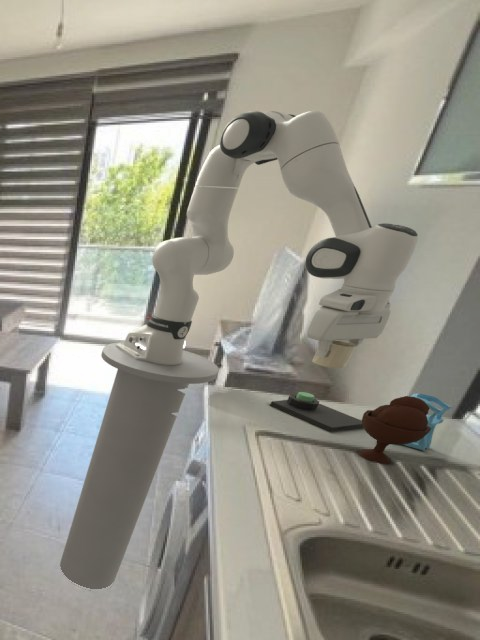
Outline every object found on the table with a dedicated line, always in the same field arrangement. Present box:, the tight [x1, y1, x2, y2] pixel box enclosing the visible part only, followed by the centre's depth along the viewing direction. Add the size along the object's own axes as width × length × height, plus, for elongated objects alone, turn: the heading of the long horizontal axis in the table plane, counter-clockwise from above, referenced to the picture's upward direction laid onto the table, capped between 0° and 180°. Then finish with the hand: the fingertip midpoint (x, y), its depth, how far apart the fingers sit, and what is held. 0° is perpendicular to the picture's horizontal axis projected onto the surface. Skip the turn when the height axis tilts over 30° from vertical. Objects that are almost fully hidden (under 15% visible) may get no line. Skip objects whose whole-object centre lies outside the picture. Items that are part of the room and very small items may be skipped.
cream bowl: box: [311, 340, 357, 370], centre depth 119 cm, size 6×6×6 cm
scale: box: [269, 393, 364, 433], centre depth 129 cm, size 16×13×3 cm
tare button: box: [296, 391, 315, 402], centre depth 132 cm, size 4×4×2 cm
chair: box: [402, 393, 453, 451], centre depth 115 cm, size 8×8×12 cm
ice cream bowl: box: [358, 395, 432, 465], centre depth 106 cm, size 11×11×15 cm
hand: (332, 356), depth 119 cm, fingers closed on cream bowl, 6 cm apart
